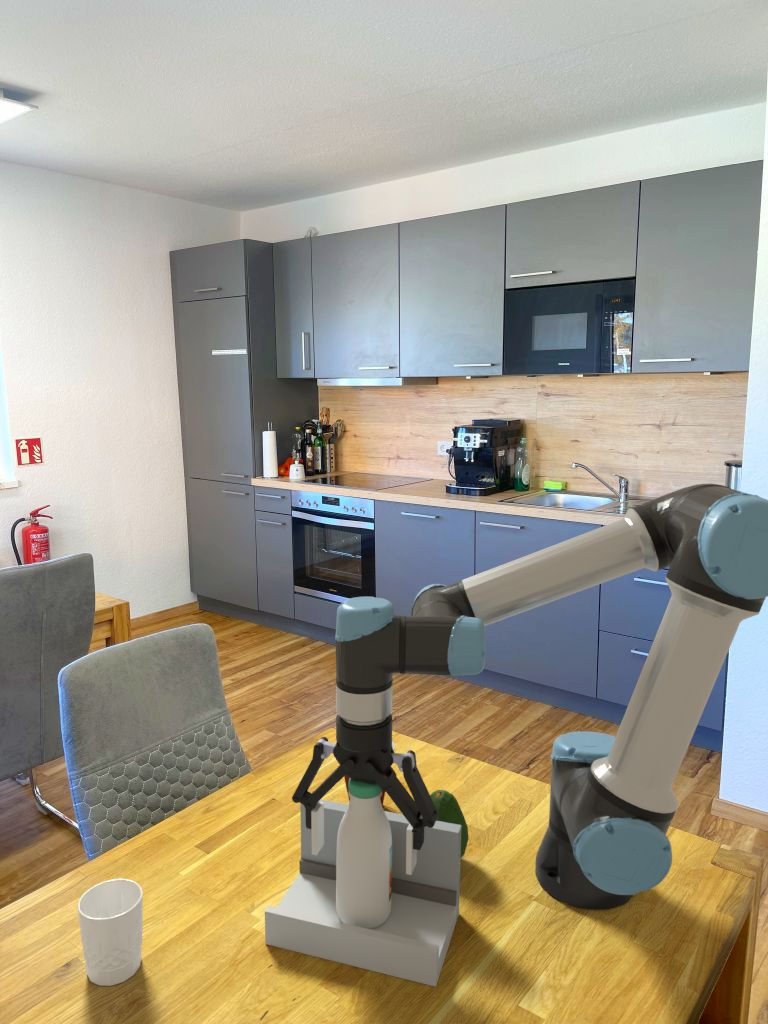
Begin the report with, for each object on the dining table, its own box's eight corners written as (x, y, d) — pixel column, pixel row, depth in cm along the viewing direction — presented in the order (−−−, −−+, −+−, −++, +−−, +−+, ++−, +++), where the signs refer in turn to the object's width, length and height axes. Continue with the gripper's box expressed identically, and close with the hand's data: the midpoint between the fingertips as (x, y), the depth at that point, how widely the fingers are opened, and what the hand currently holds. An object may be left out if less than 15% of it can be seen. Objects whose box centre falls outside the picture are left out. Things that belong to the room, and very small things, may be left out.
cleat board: (459, 913, 109) (461, 825, 107) (435, 986, 96) (438, 887, 93) (306, 880, 116) (305, 796, 114) (265, 944, 103) (263, 850, 100)
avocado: (426, 842, 126) (427, 776, 124) (472, 853, 123) (474, 785, 121) (411, 871, 118) (412, 801, 116) (460, 882, 116) (462, 811, 114)
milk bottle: (385, 935, 100) (387, 797, 97) (329, 926, 102) (330, 790, 99) (395, 898, 108) (398, 768, 105) (343, 890, 109) (345, 762, 106)
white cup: (124, 936, 104) (121, 870, 102) (158, 964, 99) (154, 895, 97) (70, 969, 98) (65, 900, 96) (103, 1001, 93) (98, 928, 91)
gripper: (462, 714, 100) (458, 860, 103) (290, 690, 107) (292, 827, 111) (449, 739, 93) (446, 894, 96) (266, 712, 100) (269, 857, 104)
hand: (363, 859), depth 103 cm, fingers open, 13 cm apart
